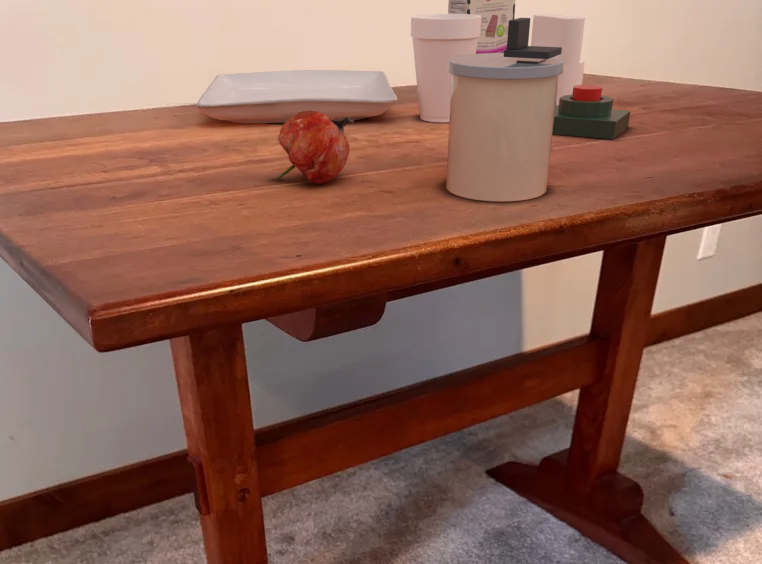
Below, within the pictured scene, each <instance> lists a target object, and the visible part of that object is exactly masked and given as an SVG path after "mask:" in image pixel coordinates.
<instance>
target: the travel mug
mask: <svg viewBox="0 0 762 564" xmlns="http://www.w3.org/2000/svg"><path fill="white" fill-rule="evenodd" d="M564 64H565V61H564V60H563V59H562V58H559V57H552V58H550V59H533V58H514V57H504V53H481V54H468V55H460V56H455V57H452V58H449V59H448V66H447V70H448V72H449V73H451V94H450V116H449V122H448V140H447V141H448V143H447V163H446V166H447V167H446V186H445V187H446V190H447V191H448V192H449V193H451V194H452V195H455V196H457V197H460V198H464V199H469V200H474V201H481V202H494V203H495V202H497V203H499V202H500V203H505V202H506V203H508V202H521V201H528V200H532V199H537V198H539V197H541V196H543V195H545V193H546V192H547V189H548V182H549V181H548V180H549V171H550V161H551V152H552V145H553V142H552V141H553V135H554V134H553V125H554V116H555V107H556V97H557V88H558V79H559V75H560V74H562V73H563V72H564Z"/></svg>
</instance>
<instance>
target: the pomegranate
mask: <svg viewBox="0 0 762 564" xmlns="http://www.w3.org/2000/svg"><path fill="white" fill-rule="evenodd" d="M354 122H355V120H351V119H350V118H349V117H346V118H344V119H342V120H339V121H335V120H333V119H332V118H330V117H328V116H327V115H324V114H322V113H320V112H317V111H310V110H309V111H302V112H298V113H297V114H295V115H294V116H292V117H291V118H290V119H288V120H287V121H286V122H285V123H284V124H283V125H282V126H281V128H280V131H279V134H278V137H277V141H278V143H279V145H280V146H281V147H282V149H283V150H284V151H285V152H286V155H288V160H289V162H290V163H291V164H292V165H291V166H290V167H288V168H287V169H286V170H285V171H284V172H282V174H280V175H278V177H276V179H277V181H279V180H281V179H282V178H283V177H284V176H286V175H287V174H289V173H290V172H291V171H292V170H294V169H297V170H298V171H299V172H301V174H302V175H303V176H304V177H305V179H306V180H307V181H308V182H310V183H311V184H318V185H323V184H326V183H328V182H329V181H332V180H333V179H335V178H336V177H337V176H338V175H339V174H340V172H341V171H342V170H343V168H344V167H345V166H346V164H347V161H348V158H349V155H350V151H351V150H350V143H349V140H348V137H347V136H346V135H345V131H344V130H345V129H344V128H345V126H347V125H348V124H353V123H354Z"/></svg>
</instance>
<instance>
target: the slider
mask: <svg viewBox="0 0 762 564" xmlns="http://www.w3.org/2000/svg"><path fill="white" fill-rule="evenodd" d="M530 28H531V17H517V18H514V19H513V20H509V25H508V38H507V49H506V50H504V57H514V58H533V59H550V58H552V57H555V56H557V55H560V54H561V51H562V48H561V47H541V46H531V45H529V39H530Z"/></svg>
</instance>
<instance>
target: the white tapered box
mask: <svg viewBox="0 0 762 564" xmlns="http://www.w3.org/2000/svg"><path fill="white" fill-rule="evenodd" d="M532 18H533V19H532V29H531V39H530V46H541V47H561V48H562V51H561V54H560V55H557V56H555V57H559V58H562V59H563V60H564V61H565V64H564V72H563V73H562V74H560V75H559V79H558V88H557V97H556V105H559V100H560V97H562V96H564V95H572V93H573V87H574V86H576V85H583V78H584V71H585V64H586V61H585V60H584V59H581V54H582V46H583V38H584V29H585V20H586V18H585V17H578V16H569V15H561V14H559V15H558V14H552V13H548V14H547V13H546V14H545V13H543V14H533V16H532Z"/></svg>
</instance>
